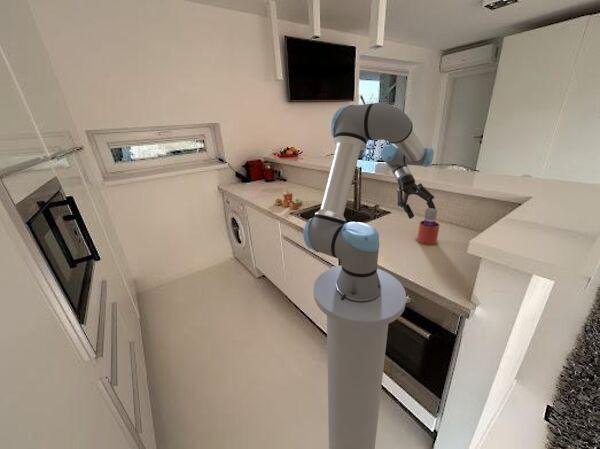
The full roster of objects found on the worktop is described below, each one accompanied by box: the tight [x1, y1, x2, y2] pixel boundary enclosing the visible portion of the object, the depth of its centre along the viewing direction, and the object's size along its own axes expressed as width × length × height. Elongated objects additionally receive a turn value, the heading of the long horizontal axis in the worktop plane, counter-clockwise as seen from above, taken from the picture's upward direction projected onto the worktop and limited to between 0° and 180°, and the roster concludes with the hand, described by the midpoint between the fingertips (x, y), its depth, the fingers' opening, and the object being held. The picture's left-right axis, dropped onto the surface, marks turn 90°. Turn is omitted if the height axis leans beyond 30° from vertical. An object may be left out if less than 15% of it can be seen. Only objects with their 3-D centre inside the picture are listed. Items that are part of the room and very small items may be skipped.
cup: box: [416, 220, 441, 246], centre depth 115 cm, size 8×8×9 cm
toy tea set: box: [273, 189, 303, 211], centre depth 179 cm, size 26×16×10 cm, turn 43°
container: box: [423, 207, 438, 227], centre depth 113 cm, size 5×5×15 cm
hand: (423, 215), depth 115 cm, fingers open, 13 cm apart
